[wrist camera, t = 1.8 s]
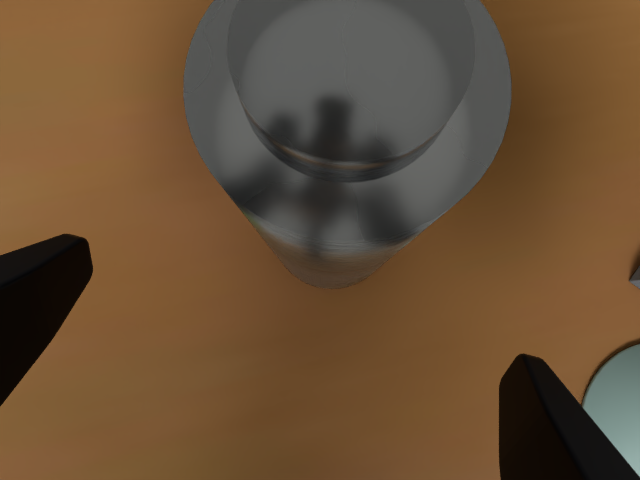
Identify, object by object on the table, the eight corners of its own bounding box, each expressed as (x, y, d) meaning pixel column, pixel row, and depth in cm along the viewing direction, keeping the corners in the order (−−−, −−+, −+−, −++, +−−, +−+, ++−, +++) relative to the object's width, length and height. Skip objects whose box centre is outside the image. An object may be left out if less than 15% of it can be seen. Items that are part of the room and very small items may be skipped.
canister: (341, 313, 19) (387, 313, 6) (248, 238, 20) (82, 71, 6) (414, 219, 20) (615, 13, 6) (322, 150, 21) (320, -177, 7)
